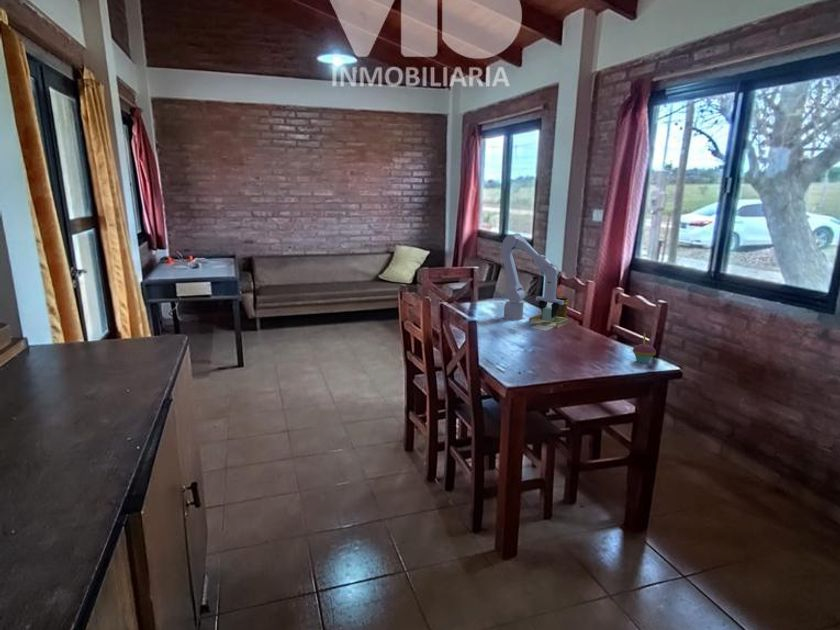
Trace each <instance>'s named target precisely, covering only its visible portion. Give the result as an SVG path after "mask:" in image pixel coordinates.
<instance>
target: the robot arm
mask: <svg viewBox="0 0 840 630" xmlns="http://www.w3.org/2000/svg"><path fill="white" fill-rule="evenodd" d="M516 249H521V250H523V251H524V252H525V253H526V254H527V255H528V256H530V257H531V258H532V259H533V263H534V264H535V265H536V267H537V268H539V270H540V271H542V272H543V275H544V277H545V279H544V293H543V296H536V297H535V301H536V302H538V301H539V302H538V306H539V307H540V310H541V314H543V308H545V307H548V303H549V304H551V305H550V307H551V308H552V318H554V317H555V314H556V311H557V309H558V308H559V306H560V305H563V304H564V301H563V300H559V299H557V287H558V275H559V274H560V268H559V267H558V266H557V265H555V264H554V263H553V262H551V261H549V259H547V256H546V255H543V254H539V253H538V252H537V251H536V250H535V249H534V248H533V246H532V245H531V244H530V243H529V242H528V241H527V240H526V238H524V236H522V235H521V234H520V233H514V234H508V235H507V236H505V238H504V239H503V240H502V247H501V251H500V253H501V257H502V261H503V265H504V269H505V273H506V278H507V282H508V289H507V292H508V296H507V298H508V300H507V301H506V302H505V303H504V307H503V317H502V319H504V320H506V319H507V320H512V321H516V322H519V321H522V320H525V319H526V317H524V306H525V305H524V304H525V302H524V300H525V298H526V297H527V295H526V293H527V292H526V291H525V290H524V288H523V286H522V284H521V283H520V280H519V275H518V272H517V267H516V264H515V260H514V256H513V253H514V251H516Z"/></svg>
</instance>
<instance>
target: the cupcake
mask: <svg viewBox="0 0 840 630" xmlns="http://www.w3.org/2000/svg"><path fill="white" fill-rule="evenodd" d="M642 341H643V342H642V343H639V344H636V345H634V346H633V349H632V353H633V354H634V356H635V361H636V362H637V361H638V362H637V363H639V362H641V363H640V364H644V363H646V364H650V361H651V359H652V358H653V357H654V356H656V355H657V354H656V353H657V351H656V349H655V347H653V345H650V344H646V331H644V333H643V339H642Z"/></svg>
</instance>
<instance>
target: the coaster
mask: <svg viewBox="0 0 840 630" xmlns="http://www.w3.org/2000/svg"><path fill="white" fill-rule="evenodd" d="M530 328H532V329H536V330H539V331H549V330H551V329H553V328H554V327H552V326H547V325H542V324H536V325H533V326H531V327H530Z"/></svg>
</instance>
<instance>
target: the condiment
mask: <svg viewBox="0 0 840 630" xmlns="http://www.w3.org/2000/svg"><path fill="white" fill-rule="evenodd" d="M556 299H559V300H563V301H564V304H563V305H560V306H559V308H558V309H557V311H556V314H555V316H557V317H562V318H567V314H568V313H567V312H568V297H567V296H561V295H560V296H559V295H558V296H556Z"/></svg>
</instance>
